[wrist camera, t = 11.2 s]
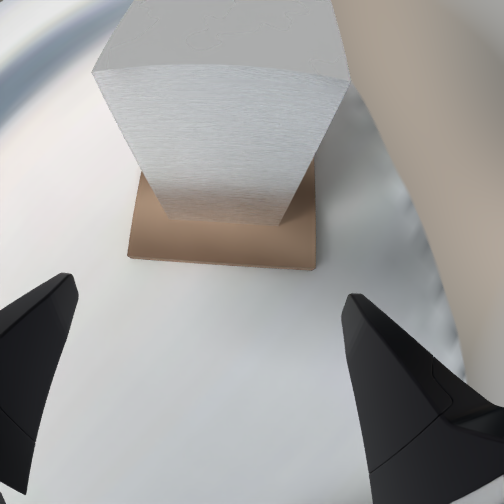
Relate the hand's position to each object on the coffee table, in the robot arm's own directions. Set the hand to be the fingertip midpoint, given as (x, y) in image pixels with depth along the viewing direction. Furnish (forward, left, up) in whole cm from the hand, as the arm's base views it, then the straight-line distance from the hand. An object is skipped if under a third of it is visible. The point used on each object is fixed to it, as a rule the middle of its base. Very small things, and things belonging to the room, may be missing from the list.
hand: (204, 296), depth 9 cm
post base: (+7, -4, -8) cm, 12 cm away
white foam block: (+7, -4, -8) cm, 11 cm away
